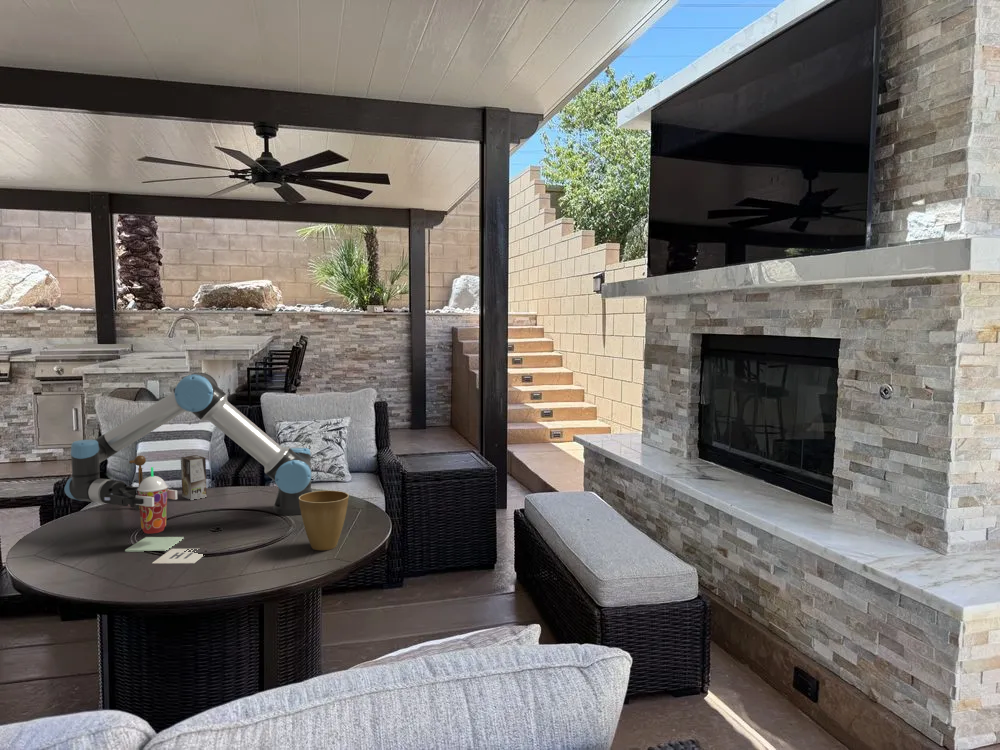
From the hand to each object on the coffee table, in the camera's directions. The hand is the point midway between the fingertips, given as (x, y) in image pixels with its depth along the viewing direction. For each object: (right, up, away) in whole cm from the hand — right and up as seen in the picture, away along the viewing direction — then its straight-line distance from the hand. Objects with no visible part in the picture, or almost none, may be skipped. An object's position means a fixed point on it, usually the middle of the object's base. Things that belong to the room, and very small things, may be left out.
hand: (164, 498), depth 202 cm
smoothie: (-5, -11, +2) cm, 12 cm away
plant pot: (+49, -15, +2) cm, 51 cm away
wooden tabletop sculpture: (-31, -12, +43) cm, 55 cm away
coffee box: (-18, -11, +59) cm, 63 cm away
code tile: (+9, -16, -7) cm, 19 cm away
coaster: (-4, -15, +3) cm, 16 cm away
